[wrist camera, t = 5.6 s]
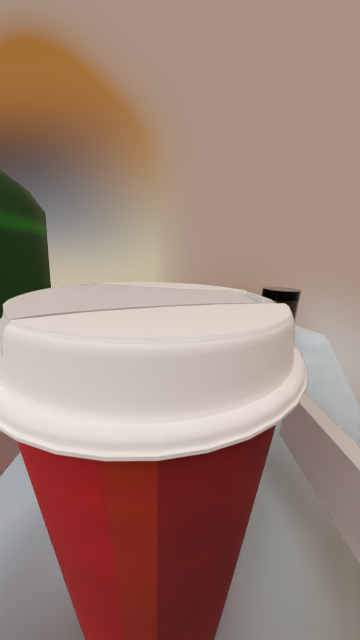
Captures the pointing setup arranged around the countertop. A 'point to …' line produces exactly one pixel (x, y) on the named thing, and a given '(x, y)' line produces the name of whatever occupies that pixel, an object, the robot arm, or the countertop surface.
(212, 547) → the paper cup
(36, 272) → the bottle
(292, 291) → the supplement container
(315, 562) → the countertop surface
